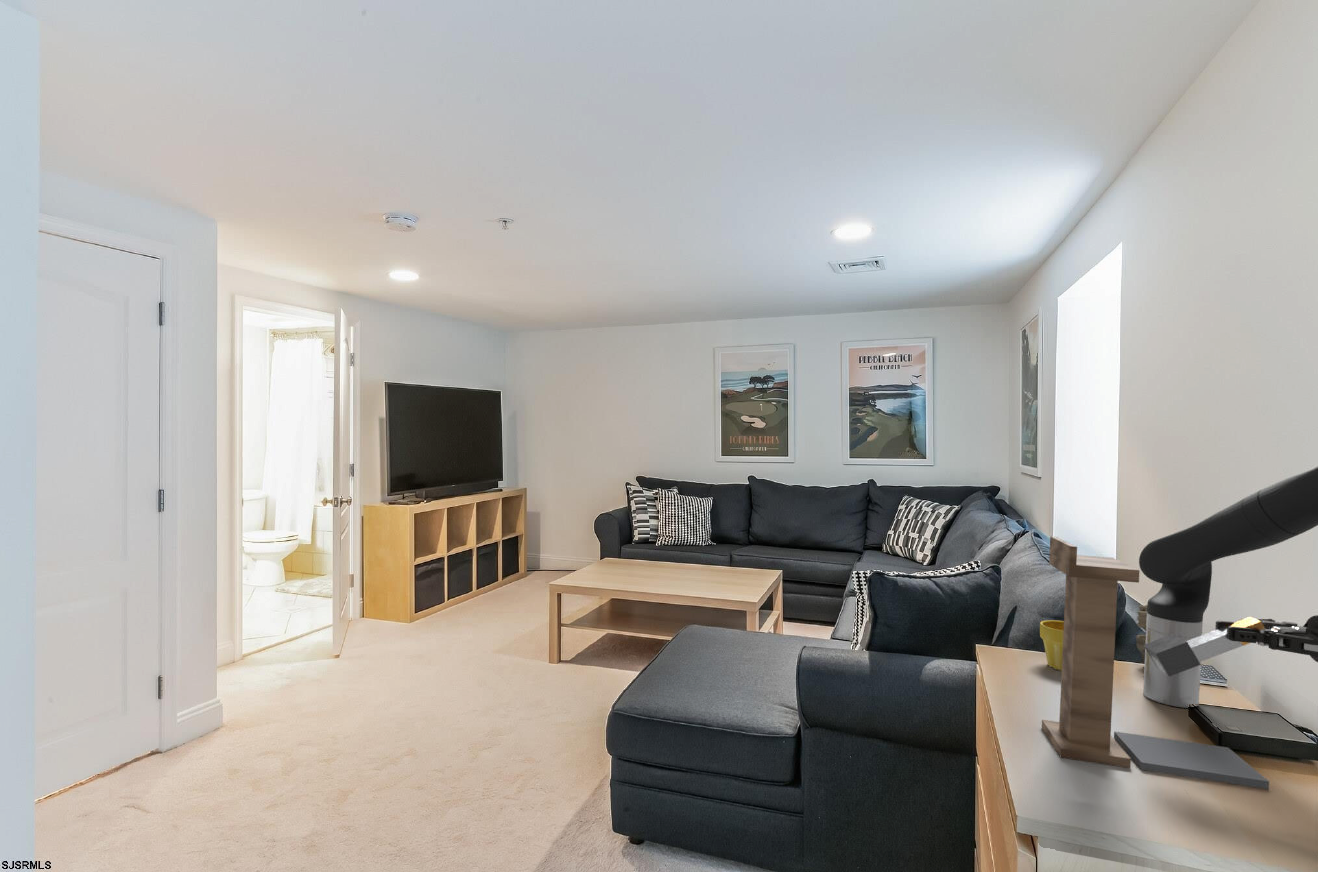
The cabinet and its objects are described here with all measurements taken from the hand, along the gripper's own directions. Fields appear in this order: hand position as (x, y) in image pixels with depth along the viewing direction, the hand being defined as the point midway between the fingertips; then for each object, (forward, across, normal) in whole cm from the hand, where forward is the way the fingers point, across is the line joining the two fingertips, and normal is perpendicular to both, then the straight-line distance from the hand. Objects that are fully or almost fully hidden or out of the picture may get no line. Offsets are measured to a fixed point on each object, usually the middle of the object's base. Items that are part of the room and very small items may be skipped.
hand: (1222, 630), depth 112 cm
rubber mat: (+4, 0, +22) cm, 23 cm away
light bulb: (-10, -54, +22) cm, 59 cm away
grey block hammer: (+1, 0, +4) cm, 4 cm away
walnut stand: (+19, 0, +22) cm, 30 cm away
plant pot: (+10, -46, +22) cm, 52 cm away
